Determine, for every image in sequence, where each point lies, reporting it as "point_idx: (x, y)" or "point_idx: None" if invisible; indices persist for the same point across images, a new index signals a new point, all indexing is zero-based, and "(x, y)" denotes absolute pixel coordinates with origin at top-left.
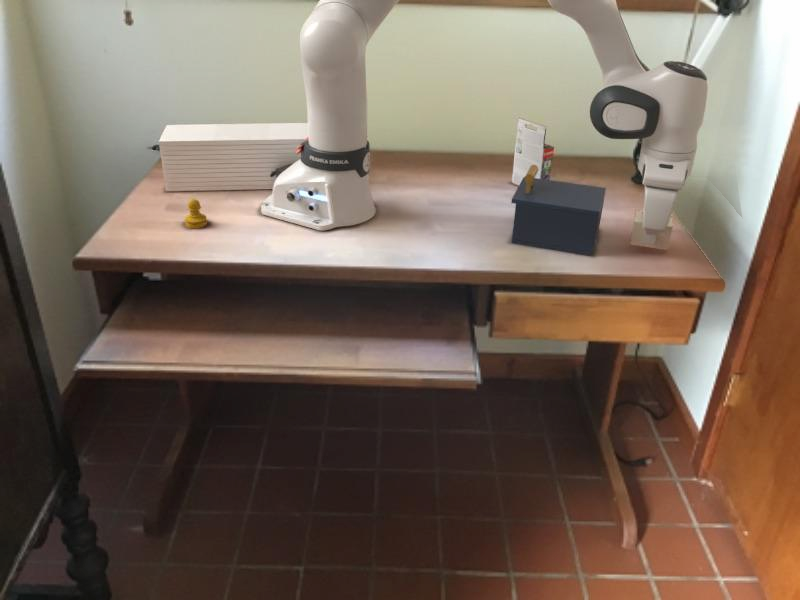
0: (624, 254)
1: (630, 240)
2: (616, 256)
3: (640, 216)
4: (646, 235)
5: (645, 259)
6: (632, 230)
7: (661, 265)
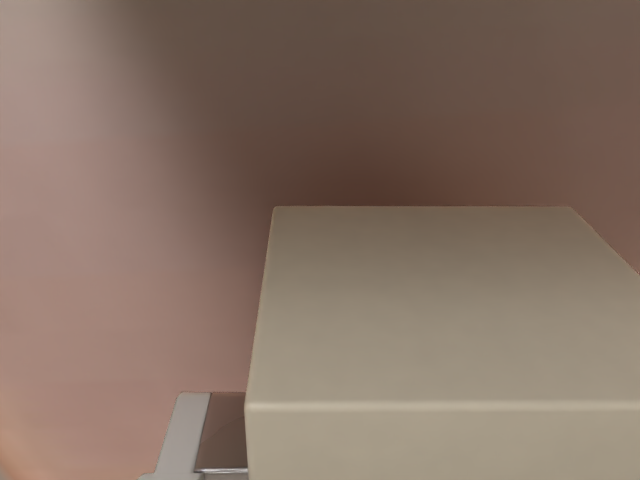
0: (216, 138)
1: (363, 207)
2: (131, 63)
3: (499, 478)
4: (165, 453)
5: (197, 311)
6: (332, 279)
7: (147, 413)
